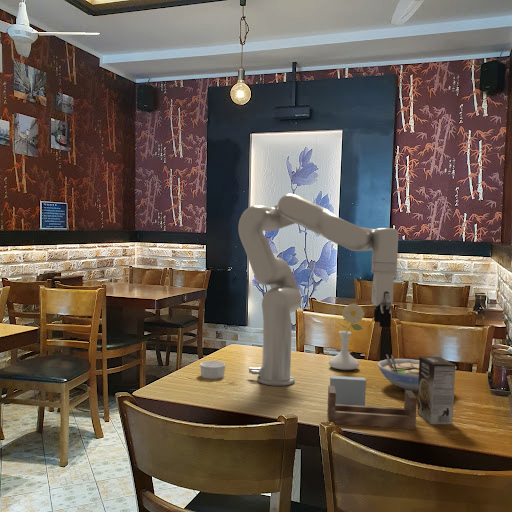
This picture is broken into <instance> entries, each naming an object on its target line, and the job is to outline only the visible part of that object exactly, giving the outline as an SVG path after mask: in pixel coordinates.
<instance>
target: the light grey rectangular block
mask: <svg viewBox="0 0 512 512" xmlns="http://www.w3.org/2000/svg"><path fill="white" fill-rule="evenodd" d="M329 385H331V386H335V391H336V402H335V404H343V405H358V406H366V392H367V391H366V389H367V387H366V386H367V380H366V377H357V376H344V375H330V376H329Z"/></svg>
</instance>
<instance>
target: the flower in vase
mask: <svg viewBox="0 0 512 512" xmlns="http://www.w3.org/2000/svg"><path fill="white" fill-rule="evenodd" d="M341 313H342V314H341V315H342V317H343V319H344V321H346V322H347V323H350V324H351V325H350V326H349V327H348V328H347V326H345V325H343V324H341V323H340V322H338V324H339V325H340V326H341V327H343V328H345V329H347V330H340V331H338V333H337V334H339V336H340V340H341V348H340V351H339V352H338V353H337V354H336V355H335V356H333V357H331V359H329V362H328V365H329V366H330V367H331V368H333V369H336V370H341V371H342V370H343V371H352V370H356V369H357V368H359V367H360V363H359V362H358V360H357V359H356V358H355V357H354V356H352V355H351V353H350V352H349V351H348V350H349V349H348V345H349V343H348V342H349V339H350V336H351V335H352V332H351V331H349V330H350V329H351V328H352V329H353V330H354V331H360V330H363V326H361V325H360V324H359V323H360V322H362V320H363V318H364V316H365V315H366V314H365V311H364V308H363V307H362V306H361V305H359V304H357V303H354V302H353V303H351V304H350V303H349V304H347V305H345V306H344V308H343V310H342V312H341Z"/></svg>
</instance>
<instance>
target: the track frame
mask: <svg viewBox="0 0 512 512" xmlns="http://www.w3.org/2000/svg"><path fill="white" fill-rule="evenodd" d="M327 392H328V393H327V421H329V422H333V423H335V424H334V425H346V426H361V427H374V426H382V427H381V428H389V427H397V428H396V429H403V428H409V429H408V430H416V426H417V425H416V424H417V423H416V422H417V405H418V397H416V395H415V394H414V391H411V390H404V402H403V403H404V406H403V407H404V408H402V407H390V406H389V407H388V406H386V407H385V406H373V405H372V406H370V405H365V406H358V405H343V404H335V402H336V391H335V386H331V385H330V384H329V385H328V390H327Z"/></svg>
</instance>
